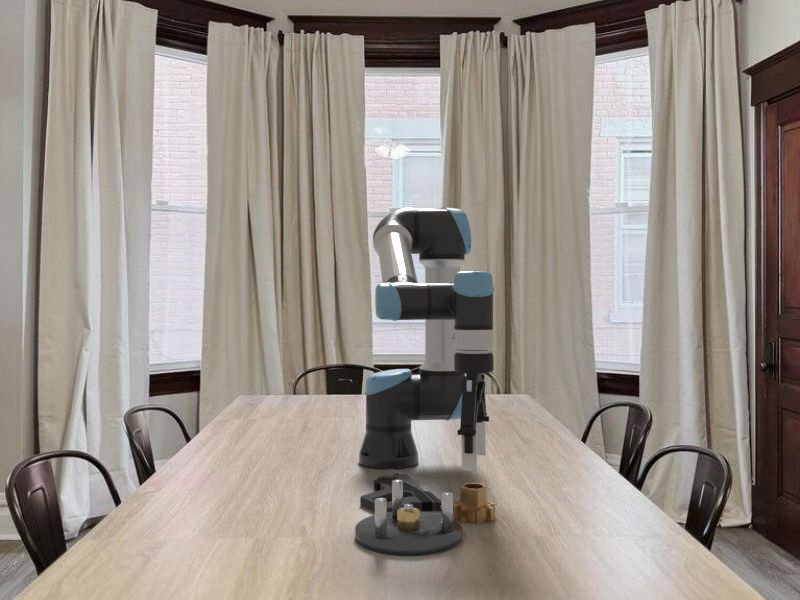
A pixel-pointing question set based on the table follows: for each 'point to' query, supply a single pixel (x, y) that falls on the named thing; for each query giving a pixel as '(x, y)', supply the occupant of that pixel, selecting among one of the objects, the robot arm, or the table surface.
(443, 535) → the carrier
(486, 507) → the planet gear
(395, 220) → the robot arm
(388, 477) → the pistol
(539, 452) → the table surface
